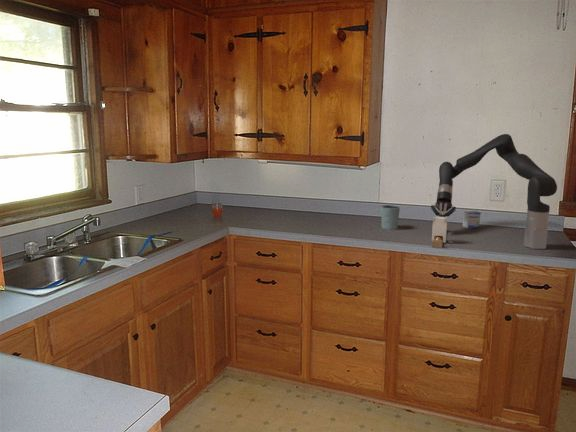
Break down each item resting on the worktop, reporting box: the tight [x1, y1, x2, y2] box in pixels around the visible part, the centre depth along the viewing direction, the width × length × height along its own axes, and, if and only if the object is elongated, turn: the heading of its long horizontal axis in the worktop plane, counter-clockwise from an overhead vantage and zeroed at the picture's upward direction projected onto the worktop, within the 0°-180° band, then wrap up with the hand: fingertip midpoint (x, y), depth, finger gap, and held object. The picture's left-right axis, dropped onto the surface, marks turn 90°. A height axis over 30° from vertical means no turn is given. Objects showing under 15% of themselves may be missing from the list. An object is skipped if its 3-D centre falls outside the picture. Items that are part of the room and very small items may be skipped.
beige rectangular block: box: [431, 215, 449, 244], centre depth 245 cm, size 5×6×12 cm
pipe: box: [431, 235, 454, 249], centre depth 251 cm, size 38×9×3 cm, turn 160°
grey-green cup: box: [380, 204, 401, 231], centre depth 274 cm, size 10×10×12 cm
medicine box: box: [462, 210, 482, 229], centre depth 278 cm, size 8×4×9 cm, turn 105°
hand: (441, 221), depth 258 cm, fingers closed
